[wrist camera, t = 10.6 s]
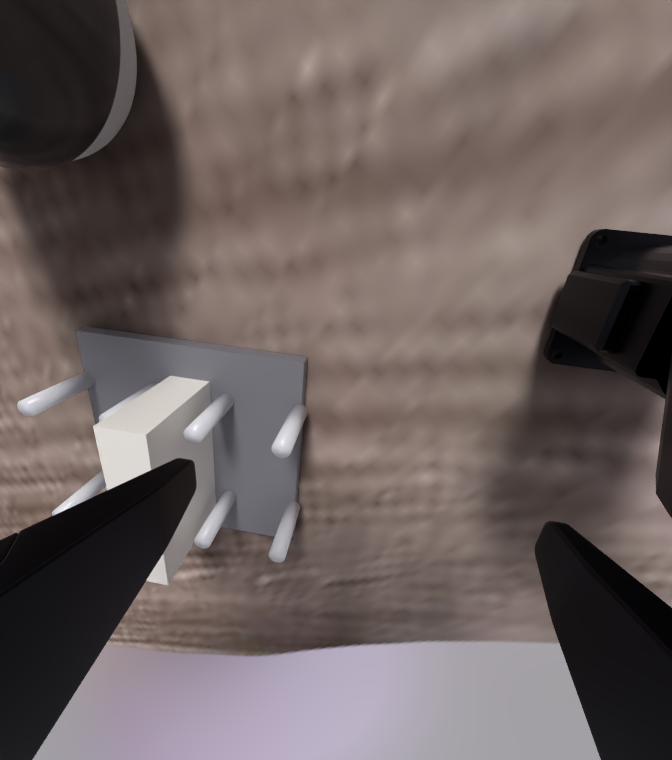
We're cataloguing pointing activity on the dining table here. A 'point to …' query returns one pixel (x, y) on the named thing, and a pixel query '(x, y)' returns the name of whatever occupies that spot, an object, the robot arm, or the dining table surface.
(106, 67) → the pump dispenser
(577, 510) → the dining table surface
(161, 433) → the tile
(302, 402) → the rack
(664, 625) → the robot arm
